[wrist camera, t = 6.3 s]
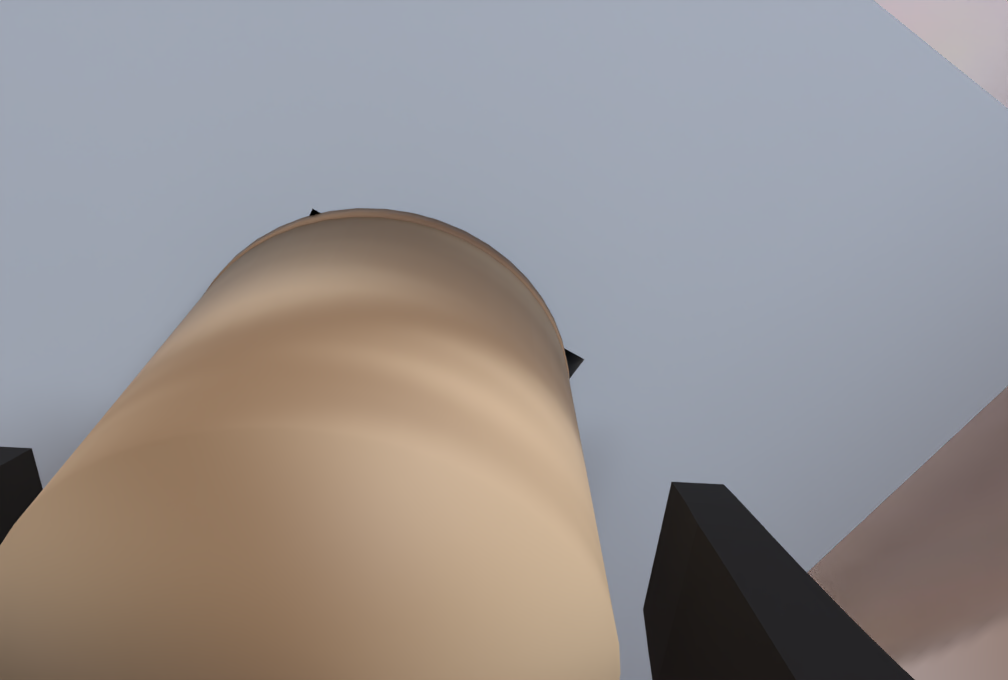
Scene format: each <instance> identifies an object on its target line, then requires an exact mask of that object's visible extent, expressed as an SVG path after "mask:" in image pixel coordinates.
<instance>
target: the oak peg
mask: <svg viewBox="0 0 1008 680" xmlns="http://www.w3.org/2000/svg"><path fill="white" fill-rule="evenodd" d="M620 673H621V672H620V650H619V641H618V635H617V630H616V625H615V619H614V614H613V609H612V604H611V598H610V593H609V588H608V582H607V577H606V572H605V567H604V561H603V556H602V551H601V545H600V540H599V535H598V530H597V524H596V519H595V514H594V508H593V503H592V498H591V492H590V487H589V482H588V477H587V471H586V466H585V461H584V455H583V450H582V445H581V440H580V434H579V429H578V424H577V418H576V413H575V408H574V403H573V397H572V392H571V387H570V380H569V369H568V364H567V359H566V354H565V350H564V345H563V341H562V338H561V335H560V333H559V330H558V327H557V325H556V322H555V320H554V317H553V316H552V314H551V312H550V310H549V309H548V307H547V305H546V303H545V301H544V300H543V298H542V296H541V295H540V294H539V293H538V291H537V290H536V289H535V287H534V286H533V285H532V284H531V282H530V281H529V280H528V278H527V277H526V276H525V275H524V274H523V273H522V272H521V271H520V270H519V269H518V268H517V267H516V266H515V265H514V264H513V263H512V262H511V261H510V260H508V259H507V258H506V257H504V256H503V255H502V254H500V253H499V252H498V251H497V250H495V249H494V248H493V247H491V246H490V245H489V244H487V243H485V242H483V241H482V240H480V239H478V238H476V237H475V236H473V235H471V234H469V233H468V232H466V231H464V230H462V229H459V228H457V227H454V226H452V225H450V224H447V223H445V222H442V221H440V220H437V219H433V218H429V217H426V216H422V215H419V214H415V213H410V212H404V211H397V210H390V209H374V208H354V209H344V210H335V211H328V212H324V213H319V214H315V215H311V216H307V217H303V218H300V219H298V220H295V221H293V222H290V223H288V224H285V225H282V226H280V227H278V228H276V229H274V230H272V231H271V232H269V233H267V234H265V235H264V236H262V237H260V238H258V239H256V240H255V241H254V242H253V243H251V244H250V245H249V246H247V247H246V248H245V249H244V250H242V251H241V252H240V253H238V254H237V255H236V256H235V257H234V258H233V259H232V260H231V261H230V262H229V263H228V265H227V266H226V267H225V268H224V269H223V270H222V271H221V272H220V273H219V274H218V275H217V277H216V278H215V279H214V280H213V282H212V283H211V285H210V286H209V287H208V289H207V290H206V292H205V293H204V295H203V296H202V297H201V299H200V300H199V301H198V302H197V303H196V305H195V306H194V307H193V308H192V309H191V311H190V312H189V313H188V314H187V315H186V317H185V318H184V319H183V320H182V322H181V323H180V324H179V325H178V326H177V328H176V329H175V330H174V331H173V332H172V334H171V335H170V336H169V337H168V339H167V340H166V341H165V342H164V343H163V345H162V346H161V347H160V348H159V349H158V351H157V352H156V353H155V354H154V355H153V357H152V358H151V359H150V360H149V362H148V363H147V364H146V365H145V366H144V368H143V369H142V370H141V371H140V372H139V374H138V375H137V376H136V377H135V379H134V380H133V381H132V382H131V383H130V385H129V386H128V387H127V388H126V389H125V391H124V392H123V393H122V394H121V395H120V397H119V398H118V399H117V400H116V402H115V403H114V404H113V405H112V406H111V408H110V409H109V410H108V411H107V412H106V414H105V415H104V416H103V417H102V419H101V420H100V421H99V422H98V423H97V425H96V426H95V427H94V428H93V429H92V431H91V432H90V433H89V434H88V435H87V437H86V438H85V439H84V440H83V442H82V443H81V444H80V445H79V446H78V448H77V449H76V450H75V451H74V452H73V454H72V455H71V456H70V457H69V459H68V460H67V461H66V462H65V463H64V465H63V466H62V467H61V468H60V469H59V471H58V472H57V473H56V474H55V475H54V477H53V478H52V479H51V480H50V482H49V483H48V484H47V485H46V486H45V488H44V489H43V490H42V491H41V492H40V494H39V495H38V496H37V497H36V499H35V500H34V501H33V502H32V503H31V505H30V506H29V507H28V508H27V509H26V511H25V512H24V513H23V514H22V515H21V517H20V518H19V519H18V520H17V522H16V523H15V524H14V525H13V527H12V528H11V530H10V531H9V533H8V534H7V536H6V537H5V539H4V540H3V542H2V543H1V545H0V680H620Z"/></svg>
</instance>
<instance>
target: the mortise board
mask: <svg viewBox="0 0 1008 680" xmlns="http://www.w3.org/2000/svg"><path fill="white" fill-rule="evenodd" d="M354 208H374V209H390V210H397V211H404V212H410V213H415V214H419V215H422V216H426V217H429V218H433V219H437V220H440V221H442V222H445V223H447V224H450V225H452V226H454V227H457V228H459V229H462V230H464V231H466V232H468V233H469V234H471V235H473V236H475V237H476V238H478V239H480V240H482V241H483V242H485V243H487V244H489V245H490V246H491V247H493V248H494V249H495V250H497V251H498V252H499V253H500V254H502V255H503V256H504V257H506V258H507V259H508V260H510V261H511V262H512V263H513V264H514V265H515V266H516V267H517V268H518V269H519V270H520V271H521V272H522V273H523V274H524V275H525V276H526V277H527V278H528V280H529V281H530V282H531V284H532V285H533V286H534V287H535V289H536V290H537V291H538V293H539V294H540V295H541V296H542V298H543V300H544V301H545V303H546V305H547V307H548V309H549V310H550V312H551V314H552V316H553V317H554V320H555V322H556V325H557V327H558V330H559V333H560V335H561V338H562V341H563V345H564V350H565V354H566V359H567V364H568V369H569V380H570V387H571V392H572V397H573V403H574V408H575V413H576V418H577V424H578V429H579V434H580V440H581V445H582V450H583V455H584V461H585V466H586V471H587V477H588V482H589V487H590V492H591V498H592V503H593V508H594V514H595V519H596V524H597V530H598V535H599V540H600V545H601V551H602V556H603V561H604V567H605V572H606V577H607V582H608V588H609V593H610V598H611V604H612V609H613V614H614V619H615V625H616V630H617V635H618V641H619V650H620V672H621V673H620V680H652V674H651V667H650V660H649V653H648V645H647V637H646V629H645V621H644V614H643V607H644V602H645V598H646V593H647V589H648V584H649V580H650V575H651V571H652V566H653V562H654V558H655V553H656V549H657V544H658V540H659V535H660V531H661V526H662V522H663V517H664V513H665V509H666V504H667V500H668V495H669V491H670V486H671V482H689V483H708V484H724V485H725V486H726V487H727V488H728V489H729V490H730V491H731V492H732V493H733V494H734V495H735V496H736V497H737V499H738V500H739V501H740V502H741V503H742V504H743V505H744V506H745V507H746V508H747V509H748V510H749V511H750V512H751V513H752V515H753V516H754V517H755V518H756V519H757V520H758V521H759V522H760V523H761V524H762V525H763V526H764V527H765V529H766V530H767V531H768V532H769V533H770V534H771V535H772V536H773V537H774V538H775V539H776V540H777V541H778V543H779V544H780V545H781V546H782V547H783V548H784V549H785V550H786V551H787V552H788V553H789V554H790V555H791V556H792V557H793V558H794V560H795V561H796V562H797V563H798V564H799V565H800V566H801V567H802V568H803V569H804V570H805V571H806V572H808V571H809V570H810V569H811V568H812V567H813V566H815V565H816V564H817V563H818V562H819V561H820V560H821V559H822V558H823V557H824V556H825V555H826V554H827V553H828V552H830V551H831V550H832V549H833V548H834V547H835V546H836V545H837V544H838V543H839V542H840V541H841V540H842V539H844V538H845V537H846V536H847V535H848V534H849V533H850V532H851V531H852V530H853V529H854V528H855V527H856V526H858V525H859V524H860V523H861V522H862V521H863V520H864V519H865V518H866V517H867V516H868V515H869V514H870V513H872V512H873V511H874V510H875V509H876V508H877V507H878V506H879V505H880V504H881V503H882V502H883V501H884V500H886V499H887V498H888V497H889V496H890V495H891V494H892V493H893V492H894V491H895V490H896V489H897V488H898V487H900V486H901V485H902V484H903V483H904V482H905V481H906V480H907V479H908V478H909V477H910V476H911V475H912V474H913V473H915V472H916V471H917V470H918V469H919V468H920V467H921V466H922V465H923V464H924V463H925V462H926V461H927V460H929V459H930V458H931V457H932V456H933V455H934V454H935V453H936V452H937V451H938V450H939V449H940V448H941V447H943V446H944V445H945V444H946V443H947V442H948V441H949V440H950V439H951V438H952V437H953V436H954V435H955V434H957V433H958V432H959V431H960V430H961V429H962V428H963V427H964V426H965V425H966V424H967V423H968V422H969V421H971V420H972V419H973V418H974V417H975V416H976V415H977V414H978V413H979V412H980V411H981V410H982V409H983V408H984V407H986V406H987V405H988V404H989V403H990V402H991V401H992V400H993V399H994V398H995V397H996V396H997V395H998V394H1000V393H1001V392H1002V391H1003V390H1004V389H1005V388H1006V387H1007V386H1008V108H1006V107H1005V106H1004V105H1003V104H1001V103H1000V102H999V101H998V100H996V99H995V98H994V97H993V96H992V95H990V94H989V93H988V92H987V91H985V90H984V89H983V88H982V87H980V86H979V85H978V84H977V83H975V82H974V81H973V80H972V79H970V78H969V77H968V76H967V75H965V74H964V73H963V72H962V71H961V70H959V69H958V68H957V67H956V66H954V65H953V64H952V63H951V62H949V61H948V60H947V59H946V58H944V57H943V56H942V55H941V54H939V53H938V52H937V51H936V50H934V49H933V48H932V47H931V46H929V45H928V44H927V43H926V42H925V41H923V40H922V39H921V38H920V37H918V36H917V35H916V34H915V33H913V32H912V31H911V30H910V29H908V28H907V27H906V26H905V25H903V24H902V23H901V22H900V21H898V20H897V19H896V18H895V17H894V16H892V15H891V14H890V13H889V12H887V11H886V10H885V9H884V8H882V7H881V6H880V5H879V4H877V3H876V2H875V1H874V0H0V447H19V448H32V451H33V454H34V458H35V462H36V466H37V469H38V473H39V477H40V480H41V484H42V488H43V489H44V488H45V486H46V485H47V484H48V483H49V482H50V480H51V479H52V478H53V477H54V475H55V474H56V473H57V472H58V471H59V469H60V468H61V467H62V466H63V465H64V463H65V462H66V461H67V460H68V459H69V457H70V456H71V455H72V454H73V452H74V451H75V450H76V449H77V448H78V446H79V445H80V444H81V443H82V442H83V440H84V439H85V438H86V437H87V435H88V434H89V433H90V432H91V431H92V429H93V428H94V427H95V426H96V425H97V423H98V422H99V421H100V420H101V419H102V417H103V416H104V415H105V414H106V412H107V411H108V410H109V409H110V408H111V406H112V405H113V404H114V403H115V402H116V400H117V399H118V398H119V397H120V395H121V394H122V393H123V392H124V391H125V389H126V388H127V387H128V386H129V385H130V383H131V382H132V381H133V380H134V379H135V377H136V376H137V375H138V374H139V372H140V371H141V370H142V369H143V368H144V366H145V365H146V364H147V363H148V362H149V360H150V359H151V358H152V357H153V355H154V354H155V353H156V352H157V351H158V349H159V348H160V347H161V346H162V345H163V343H164V342H165V341H166V340H167V339H168V337H169V336H170V335H171V334H172V332H173V331H174V330H175V329H176V328H177V326H178V325H179V324H180V323H181V322H182V320H183V319H184V318H185V317H186V315H187V314H188V313H189V312H190V311H191V309H192V308H193V307H194V306H195V305H196V303H197V302H198V301H199V300H200V299H201V297H202V296H203V295H204V293H205V292H206V290H207V289H208V287H209V286H210V285H211V283H212V282H213V280H214V279H215V278H216V277H217V275H218V274H219V273H220V272H221V271H222V270H223V269H224V268H225V267H226V266H227V265H228V263H229V262H230V261H231V260H232V259H233V258H234V257H235V256H236V255H237V254H238V253H240V252H241V251H242V250H244V249H245V248H246V247H247V246H249V245H250V244H251V243H253V242H254V241H255V240H256V239H258V238H260V237H262V236H264V235H265V234H267V233H269V232H271V231H272V230H274V229H276V228H278V227H280V226H282V225H285V224H288V223H290V222H293V221H295V220H298V219H300V218H303V217H307V216H311V215H315V214H319V213H324V212H328V211H335V210H344V209H354Z"/></svg>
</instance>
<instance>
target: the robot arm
mask: <svg viewBox="0 0 1008 680" xmlns="http://www.w3.org/2000/svg"><path fill="white" fill-rule="evenodd" d="M42 490H43V488H42V484H41V480H40V477H39V473H38V469H37V466H36V462H35V458H34V454H33V451H32V448H19V447H0V545H1V543H2V542H3V540H4V539H5V537H6V536H7V534H8V533H9V531H10V530H11V528H12V527H13V525H14V524H15V523H16V522H17V520H18V519H19V518H20V517H21V515H22V514H23V513H24V512H25V511H26V509H27V508H28V507H29V506H30V505H31V503H32V502H33V501H34V500H35V499H36V497H37V496H38V495H39V494H40V492H41V491H42ZM643 614H644V621H645V629H646V637H647V645H648V653H649V660H650V667H651V674H652V680H914V679H913V678H912V677H911V676H910V675H909V674H908V673H907V672H906V671H905V670H904V669H902V668H901V667H900V666H899V665H898V664H897V663H896V662H895V661H894V660H893V659H892V658H891V657H890V656H889V655H888V654H887V653H886V652H885V651H884V650H883V649H882V648H881V647H880V646H879V645H878V644H877V643H876V642H875V641H874V640H872V639H871V638H870V637H869V636H868V635H867V634H866V633H865V632H864V631H863V630H862V629H861V628H860V627H859V626H858V625H857V624H856V623H855V622H854V621H853V620H852V619H851V618H850V617H849V616H848V615H847V614H846V613H845V612H844V611H843V610H842V608H841V607H840V606H839V605H838V604H837V603H836V602H835V601H834V600H833V599H832V598H831V597H830V596H829V595H828V594H827V593H826V592H825V591H824V590H823V589H822V588H821V587H820V586H819V585H818V584H817V583H816V582H815V581H814V580H813V579H812V578H811V576H810V575H809V574H808V573H807V572H806V571H805V570H804V569H803V568H802V567H801V566H800V565H799V564H798V563H797V562H796V561H795V560H794V558H793V557H792V556H791V555H790V554H789V553H788V552H787V551H786V550H785V549H784V548H783V547H782V546H781V545H780V544H779V543H778V541H777V540H776V539H775V538H774V537H773V536H772V535H771V534H770V533H769V532H768V531H767V530H766V529H765V527H764V526H763V525H762V524H761V523H760V522H759V521H758V520H757V519H756V518H755V517H754V516H753V515H752V513H751V512H750V511H749V510H748V509H747V508H746V507H745V506H744V505H743V504H742V503H741V502H740V501H739V500H738V499H737V497H736V496H735V495H734V494H733V493H732V492H731V491H730V490H729V489H728V488H727V487H726V486H725V485H724V484H708V483H689V482H671V486H670V491H669V495H668V500H667V504H666V509H665V513H664V517H663V522H662V526H661V531H660V535H659V540H658V544H657V549H656V553H655V558H654V562H653V566H652V571H651V575H650V580H649V584H648V589H647V593H646V598H645V602H644V607H643Z"/></svg>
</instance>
